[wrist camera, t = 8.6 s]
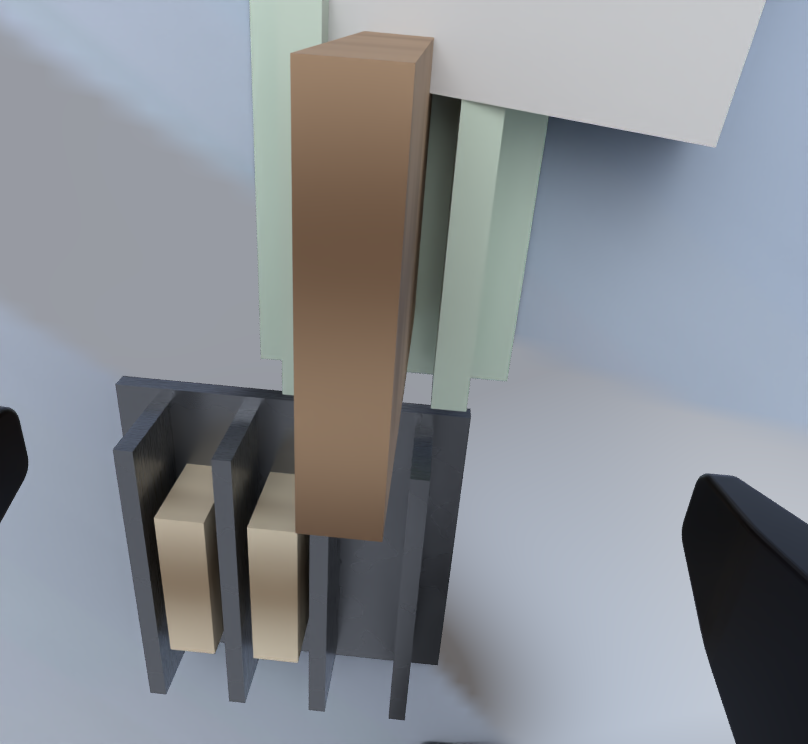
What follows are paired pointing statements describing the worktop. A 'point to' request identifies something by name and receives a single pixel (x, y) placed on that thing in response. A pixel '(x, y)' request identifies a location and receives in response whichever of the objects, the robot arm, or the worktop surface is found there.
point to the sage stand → (441, 223)
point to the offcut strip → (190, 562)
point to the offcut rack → (329, 556)
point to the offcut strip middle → (278, 573)
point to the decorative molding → (579, 56)
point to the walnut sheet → (354, 268)
